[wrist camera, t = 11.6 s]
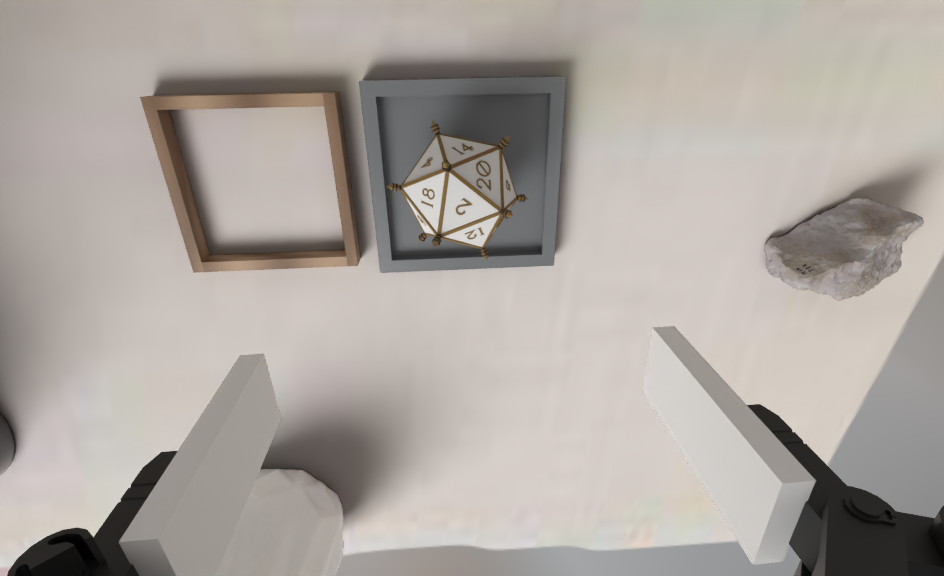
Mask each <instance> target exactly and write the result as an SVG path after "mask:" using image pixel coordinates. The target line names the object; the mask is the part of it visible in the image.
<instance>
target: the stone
mask: <svg viewBox="0 0 944 576" xmlns="http://www.w3.org/2000/svg"><path fill="white" fill-rule="evenodd" d="M922 225H923V218H922V217H920V216H918V215H916V214H913V213H910V212H907V211H904V210H901V209H897V208H892V207H890V206H889V205H883V204H881V203H879V202H874V201H872V200H871V199H868V198H863V199H861V198H853V199H850V200H848V201H847V202H844V203H841V204H838V205H837V206H836V207H835V208H833V209H830V210H828V211H825V212H823V213H822V214H820V215H815V216H814V217H813V218H812V219H811V220H809V221H807V222H804V223H801V224H799V225H798V226H797V227H795V228H794V229H793V230H792V231H791V232H790V233H788V234H787V235H784V236H782V237H773V238H770V239H769V240H768V241H767V242H766V244H765V248H764V250H765V252H766V266H767V269H768V272H769V274H771V275H772V276H773V277H779V278H781V280H782V281H783V282H785V283H787V284H788V285H790V286H791V287H793V288H796V289H798V290H807V289H809V290H811V291H814V292H816V293H819V294H827V295H831V296H832V297H833V298H834V299H835V300H838V301H841V300H843V299H847V298H850V297H852V296H859V295H862V294H864V293H865V292H866V291H869V290H870V289H872V288H874V286H875V285H877V284H879V283H880V282H881V280H883V279H884V278H886V277H889V276H891V275H892V274H895V273H896V272H897V271H898V270H899V268H900V267H901V260H900V256H901V253H902V250H901V249H902V242H903V241H905V240H907V238H908V236H909V235H910V234H911V233H912V232H914V231H915V230H917V229H918V228H919V227H921V226H922Z"/></svg>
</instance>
